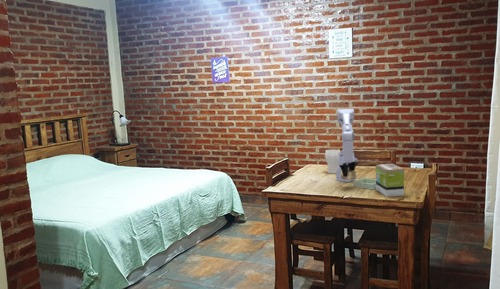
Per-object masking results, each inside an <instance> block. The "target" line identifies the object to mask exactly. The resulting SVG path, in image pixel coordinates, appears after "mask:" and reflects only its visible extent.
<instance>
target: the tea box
mask: <svg viewBox="0 0 500 289" xmlns="http://www.w3.org/2000/svg"><path fill="white" fill-rule="evenodd" d="M375 180H376V189H375V191H378V192H379V193H380V194H382V195H383V196H385V197H387V198H388V197H402V196H405V168H403V167H400V166H398V165H396V164H394V163H384V164H376V165H375Z"/></svg>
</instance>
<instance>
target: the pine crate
mask: <svg viewBox="0 0 500 289" xmlns="http://www.w3.org/2000/svg"><path fill="white" fill-rule="evenodd" d="M341 179H347V180H353V179H355V180H357V171H356V170H354V171H353V170H348V174H347V177H344V176H343V173H342V171H341Z"/></svg>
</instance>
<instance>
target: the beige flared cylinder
mask: <svg viewBox="0 0 500 289" xmlns="http://www.w3.org/2000/svg"><path fill="white" fill-rule="evenodd" d="M324 152H325V153H324V158H325V162H326V164H327V174H336V169H337V167H338V166H339V165H338V154H339V152H341V150H340V149H326V150H325V151H324Z"/></svg>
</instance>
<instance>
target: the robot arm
mask: <svg viewBox="0 0 500 289" xmlns="http://www.w3.org/2000/svg"><path fill="white" fill-rule="evenodd" d="M354 118H355V109H354V108H342V109H341V108H340V109H339V108H338V109H337V123H338V124H340V125H341V131H342V132H341V140H342V145H341V146H342V150H340V152H339V154H338V167H337V169H336V173H335V174H336V177H335V181H339V182H344V183H349V182H353V181H356V179H353V180H347V179H341V171H342V173H343V176H344V177H347V174H348V170H353V171H356V170H355V169H356V166H357V165H358V158H357V157H355V153H354V141H355V132H354V129H353V123H354V120H355V119H354Z"/></svg>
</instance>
